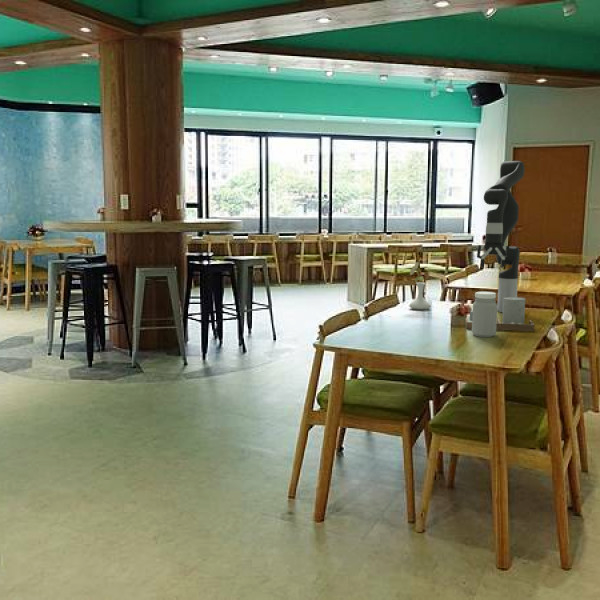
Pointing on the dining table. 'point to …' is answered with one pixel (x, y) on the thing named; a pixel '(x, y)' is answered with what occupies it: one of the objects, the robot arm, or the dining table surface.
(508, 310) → the speckled white canister
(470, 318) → the block slate
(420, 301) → the flower in vase
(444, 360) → the dining table surface
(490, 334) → the jar
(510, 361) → the dining table surface
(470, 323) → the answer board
